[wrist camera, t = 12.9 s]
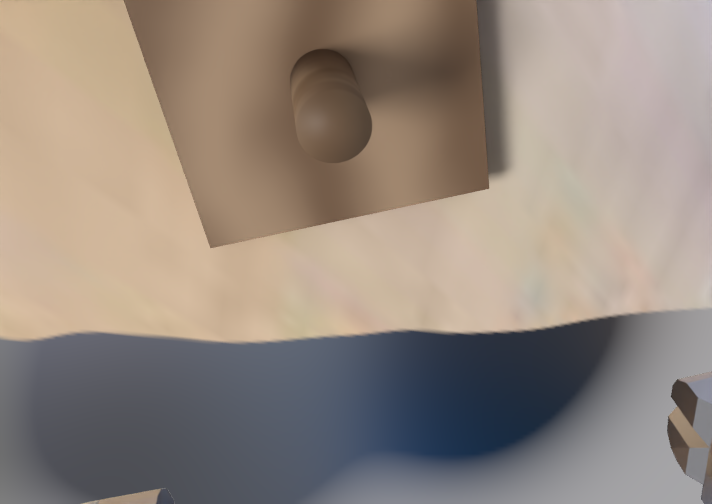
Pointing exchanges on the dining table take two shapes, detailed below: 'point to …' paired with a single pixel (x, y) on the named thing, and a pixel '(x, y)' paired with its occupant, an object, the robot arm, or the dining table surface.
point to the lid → (316, 106)
